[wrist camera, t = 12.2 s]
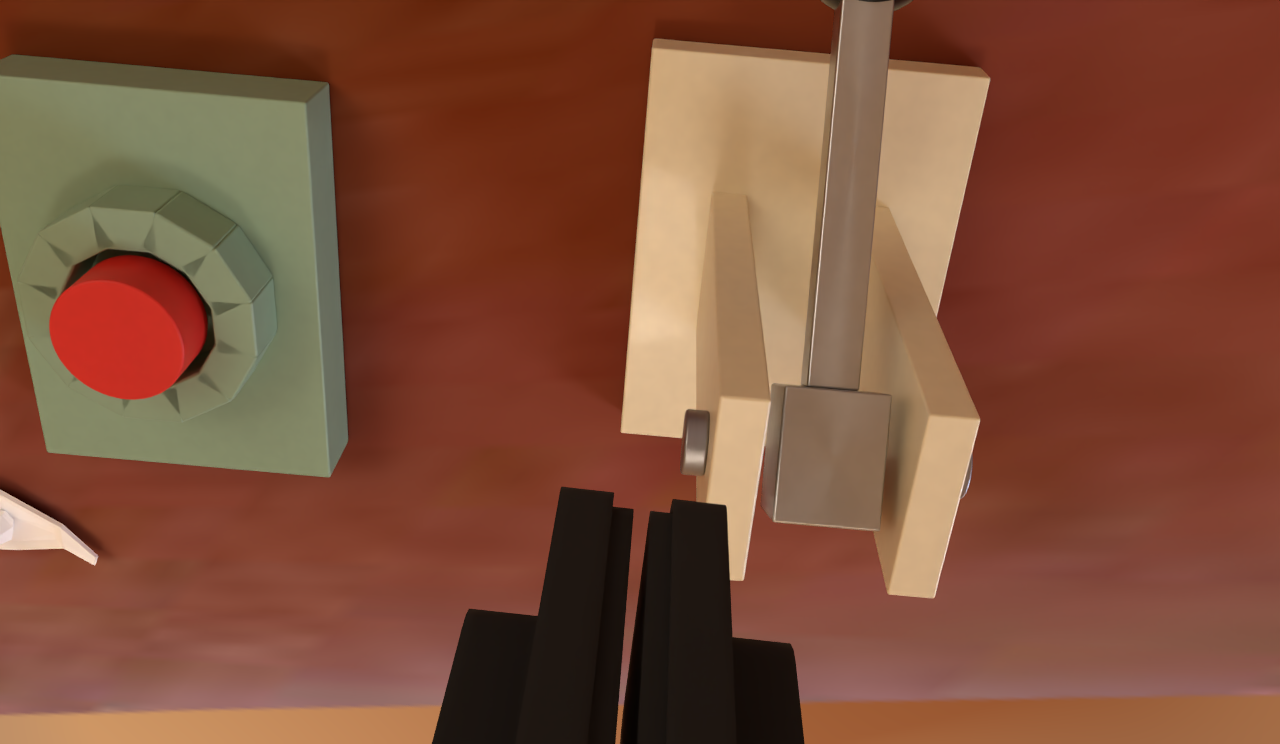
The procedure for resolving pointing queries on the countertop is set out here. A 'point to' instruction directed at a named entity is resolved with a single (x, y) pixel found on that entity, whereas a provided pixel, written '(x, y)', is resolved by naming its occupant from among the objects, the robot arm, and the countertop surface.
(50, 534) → the pea pod
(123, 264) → the button
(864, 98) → the lever
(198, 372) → the button box
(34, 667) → the countertop surface
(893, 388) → the bracket
